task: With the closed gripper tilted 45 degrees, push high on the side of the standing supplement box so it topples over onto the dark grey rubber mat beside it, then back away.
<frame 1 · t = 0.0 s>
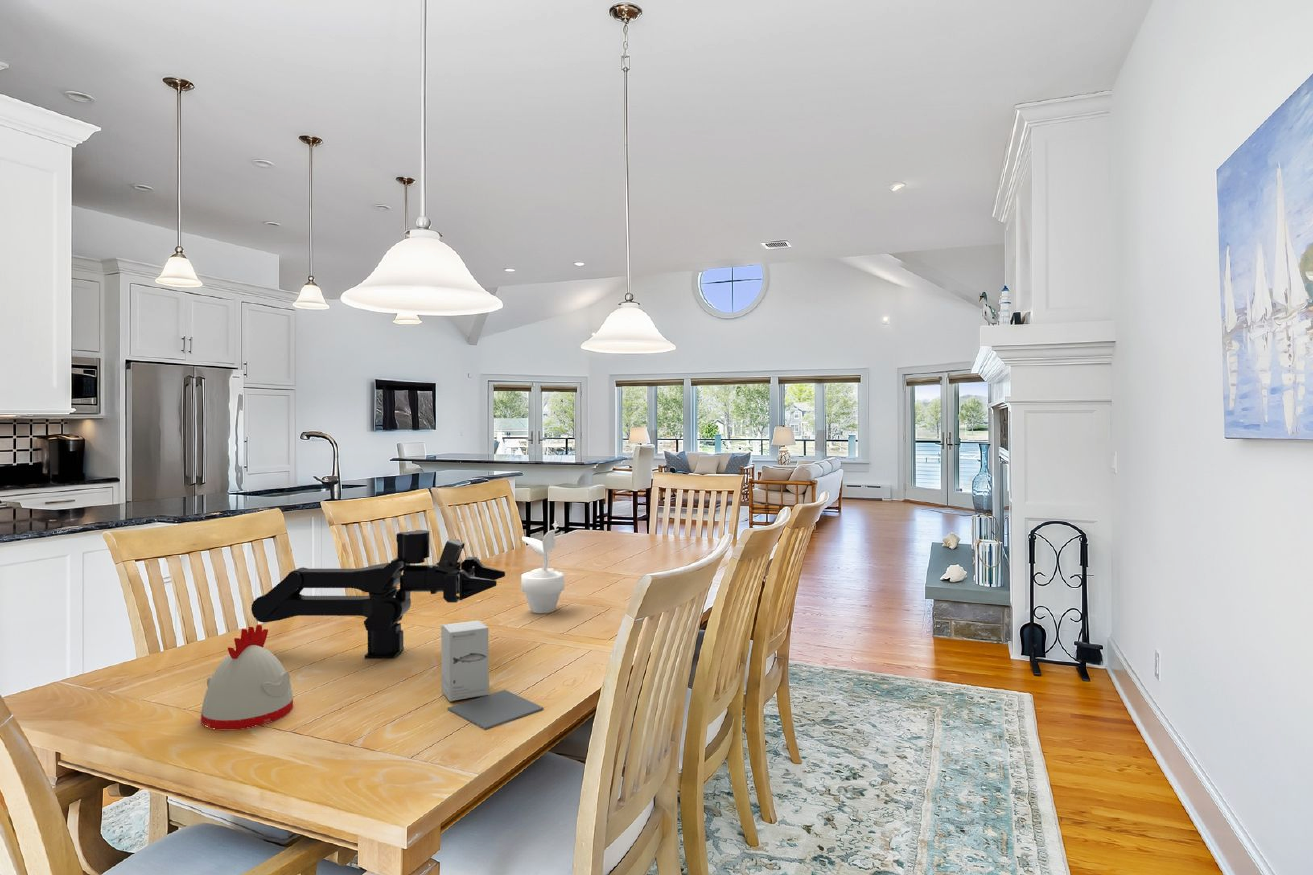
hand: (500, 578, 158), 17 cm above the table, tool horizontal, fingers open, 9 cm apart
potted plant: (541, 611, 194), on the table
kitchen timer: (248, 714, 126), on the table
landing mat: (495, 709, 128), on the table
supplement box: (465, 694, 135), on the table, touching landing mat
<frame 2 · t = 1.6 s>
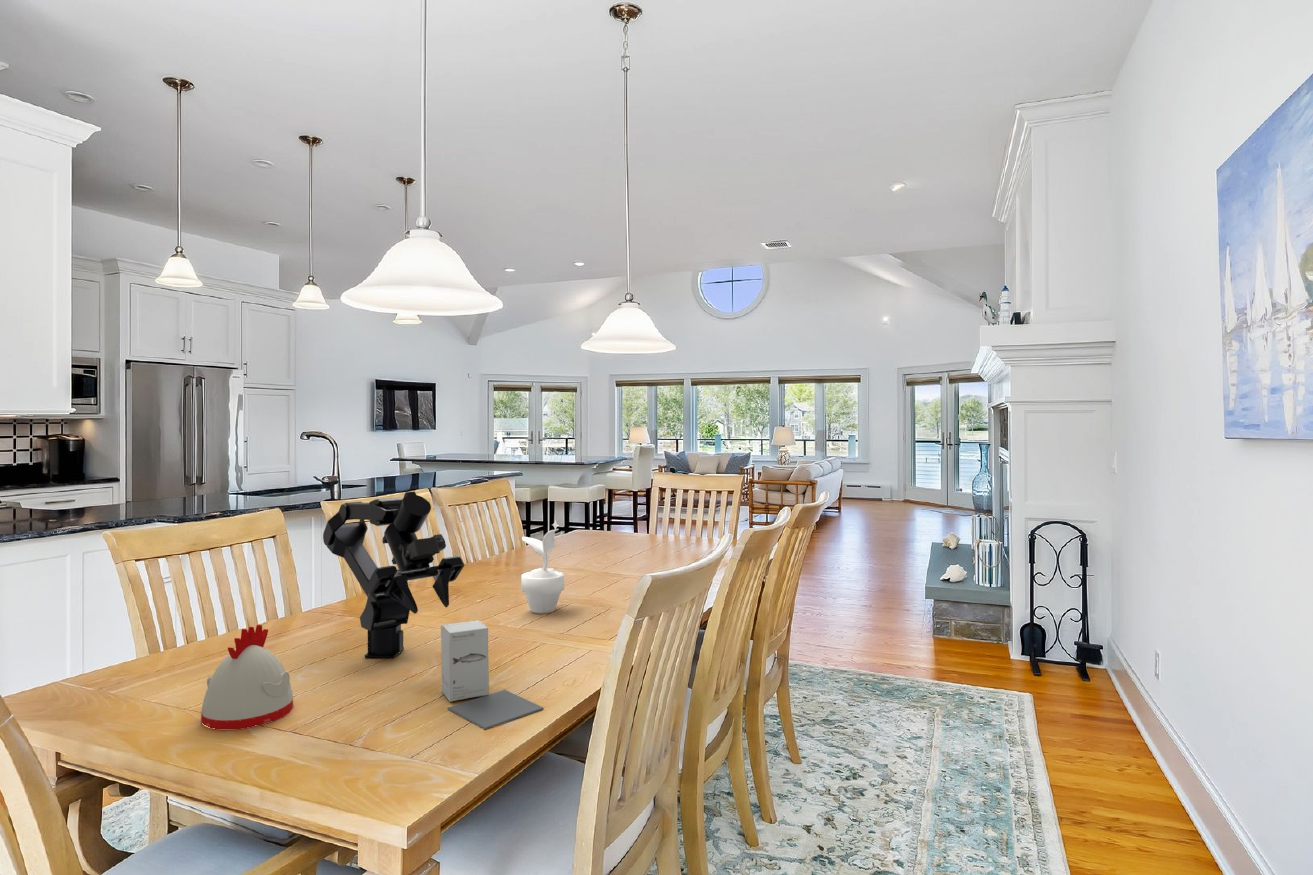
hand: (432, 609, 143), 14 cm above the table, tool tilted 45°, fingers open, 6 cm apart
nothing on the table moved.
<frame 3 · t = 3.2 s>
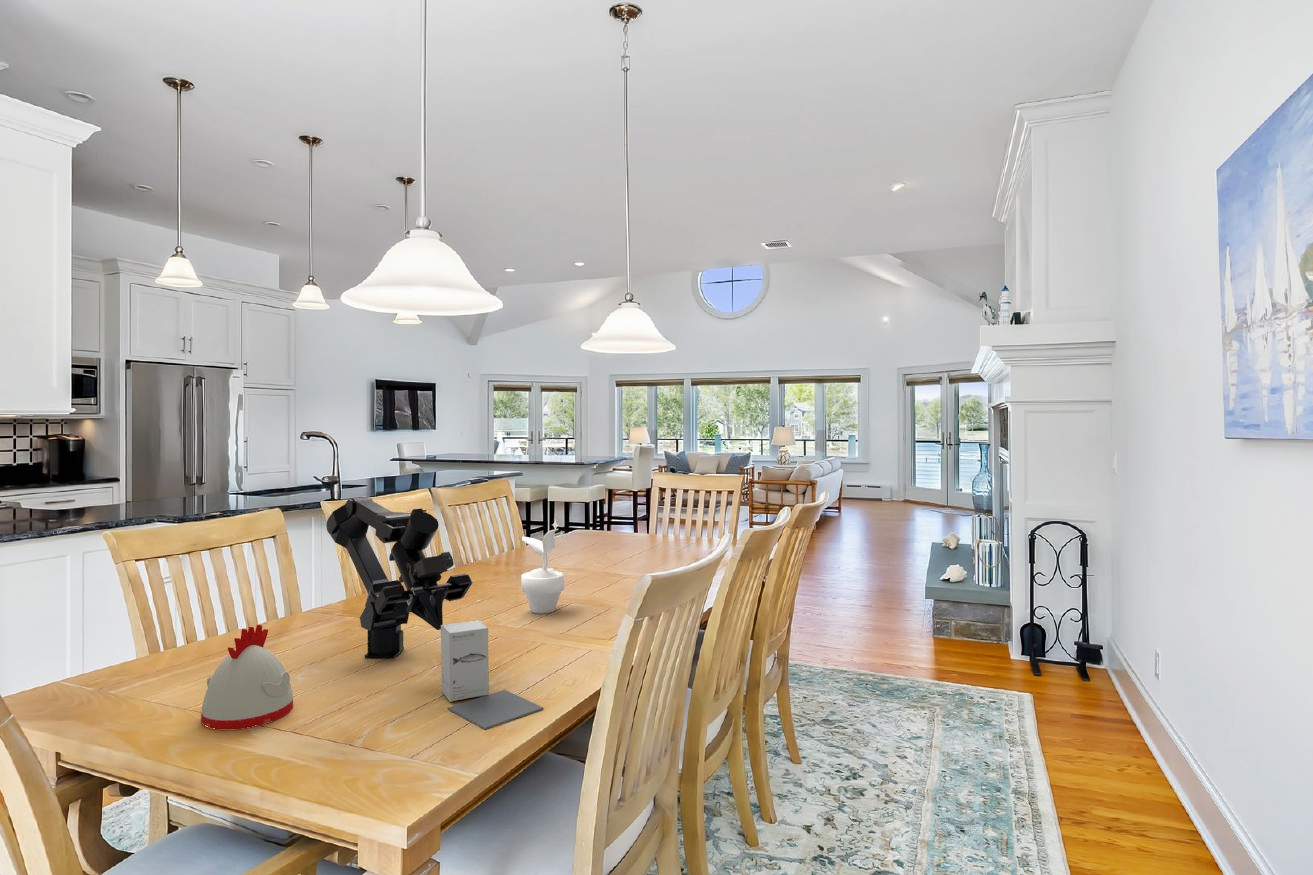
hand: (440, 628, 141), 10 cm above the table, tool tilted 45°, fingers closed
nothing on the table moved.
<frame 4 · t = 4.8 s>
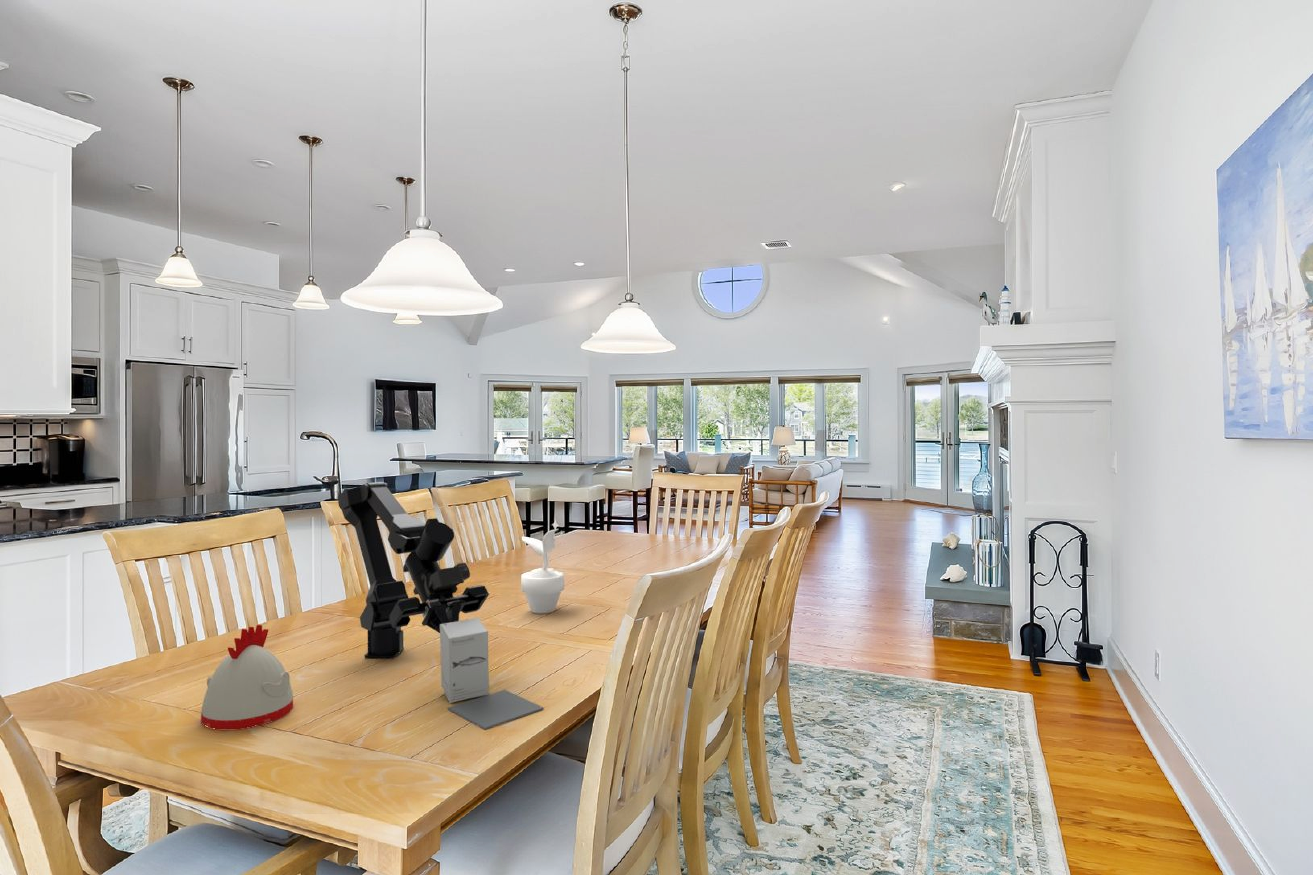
hand: (456, 642, 136), 9 cm above the table, tool tilted 45°, fingers closed
supplement box: (465, 691, 135), on the table, touching gripper, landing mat
everything else where it was.
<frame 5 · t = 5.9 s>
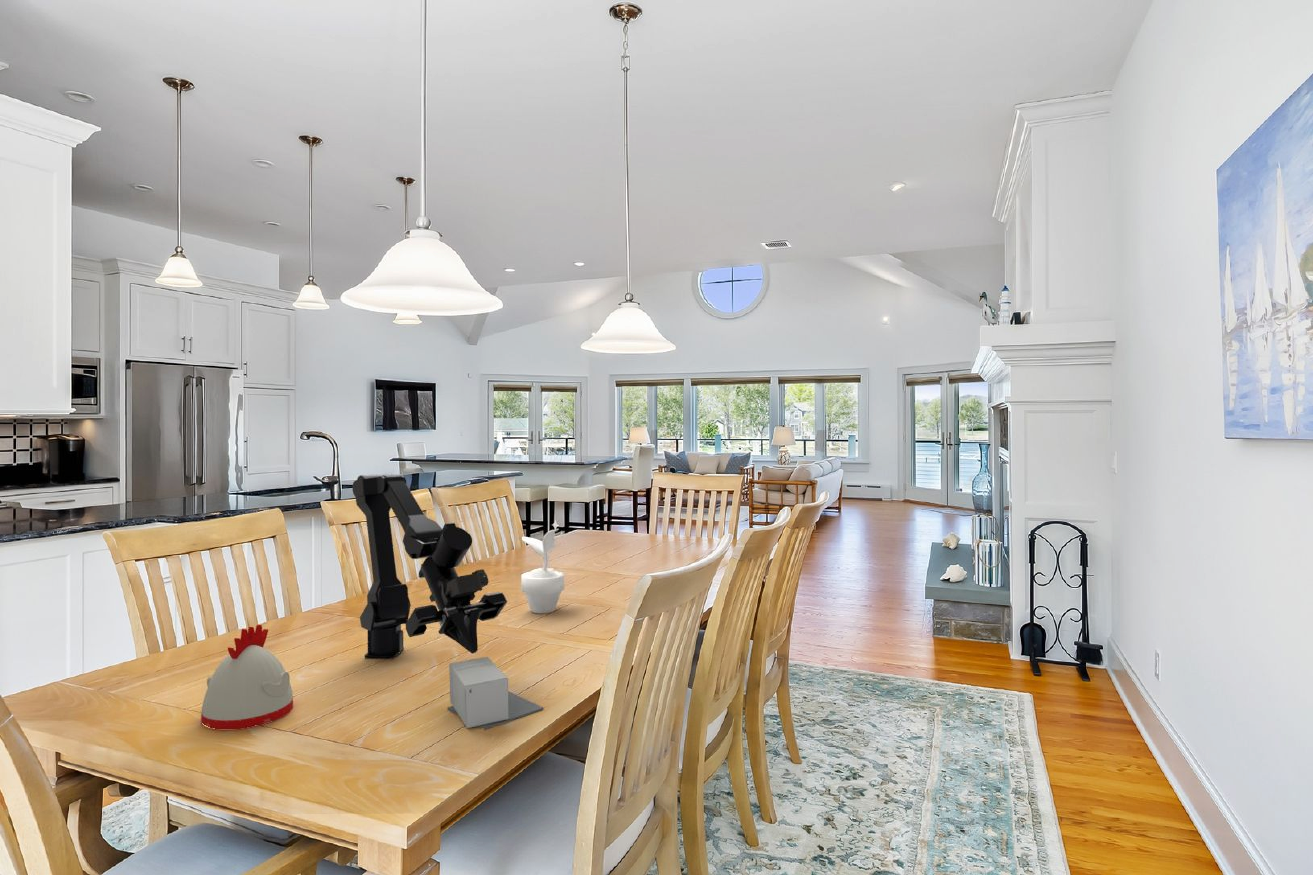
hand: (475, 651, 132), 9 cm above the table, tool tilted 45°, fingers closed
supplement box: (469, 678, 132), point 4 cm above the table, touching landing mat
everything else where it was.
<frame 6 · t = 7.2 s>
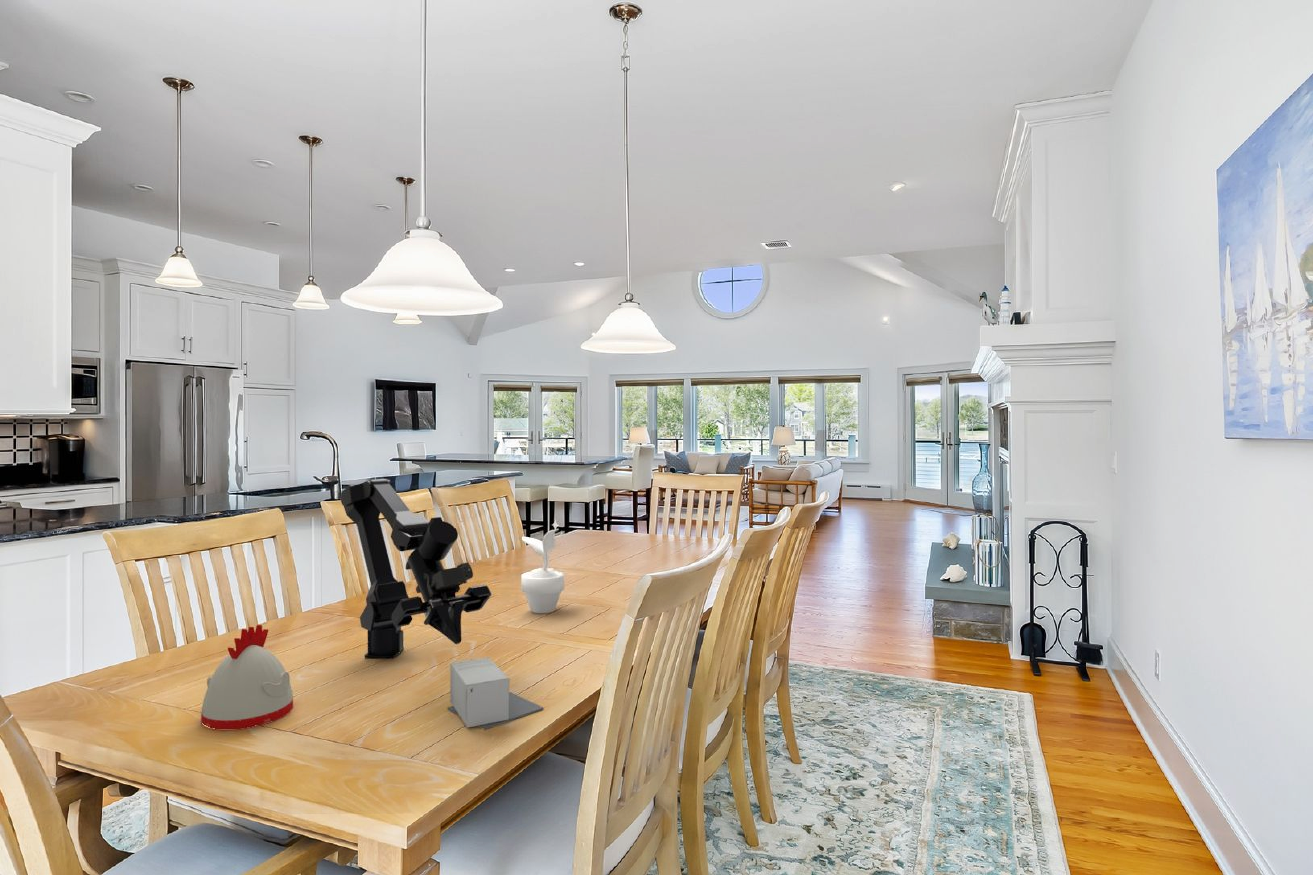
hand: (458, 642, 136), 9 cm above the table, tool tilted 45°, fingers closed
nothing on the table moved.
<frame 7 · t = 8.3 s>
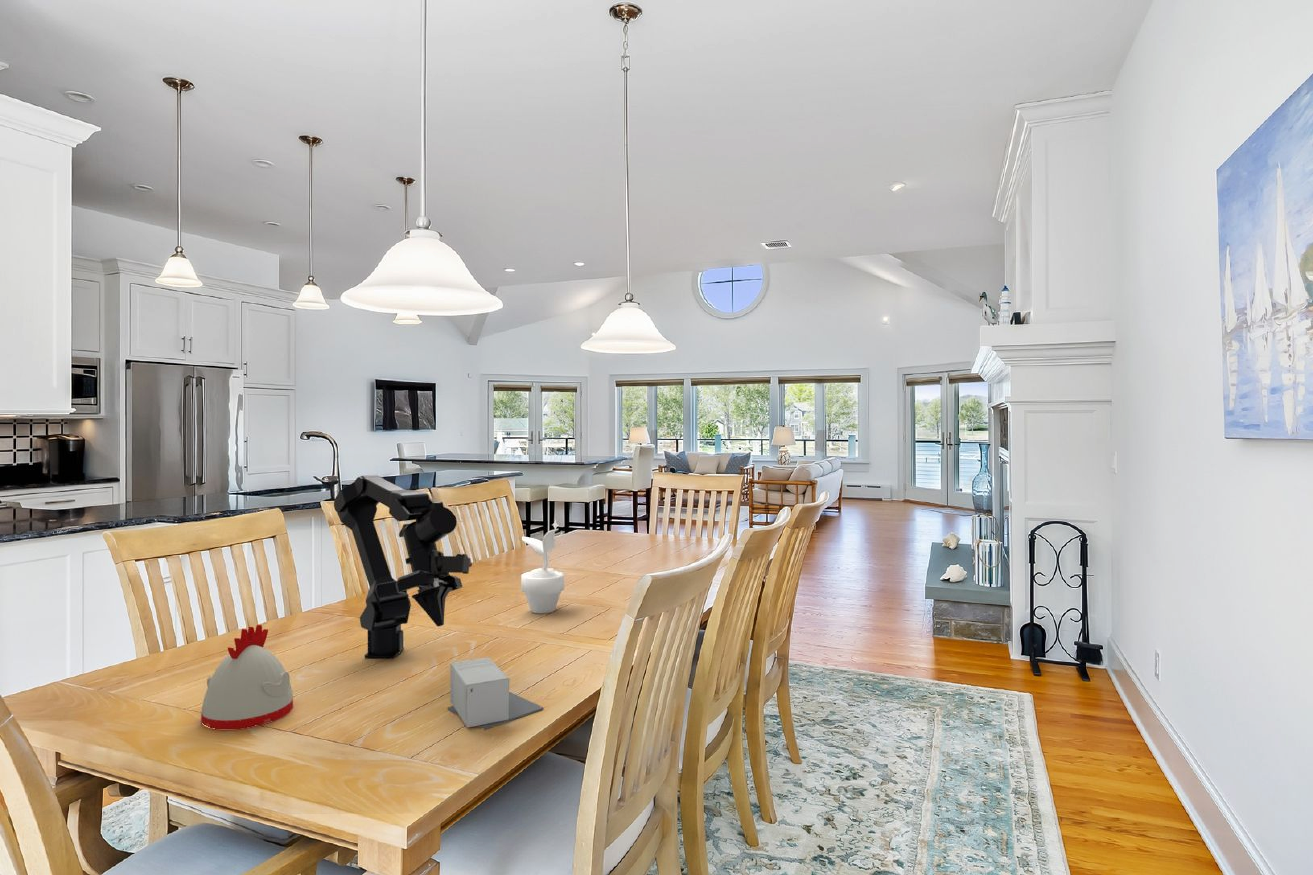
hand: (440, 625, 142), 11 cm above the table, tool tilted 25°, fingers closed
nothing on the table moved.
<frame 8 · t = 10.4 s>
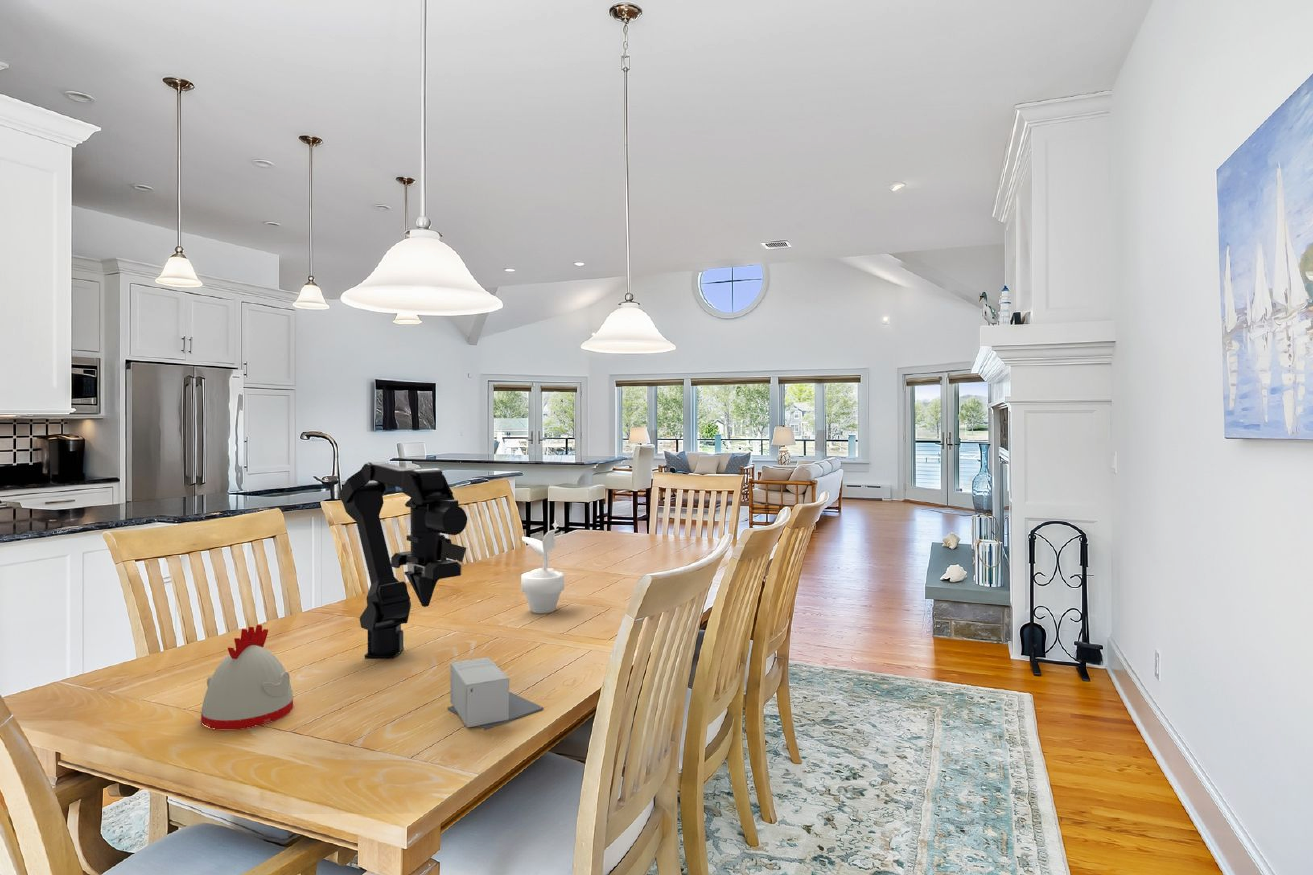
hand: (425, 606, 148), 13 cm above the table, tool pointing down, fingers closed
nothing on the table moved.
at the end: supplement box tilted 90°; supplement box 6.9 cm from the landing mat (horizontally); the gripper is holding nothing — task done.
